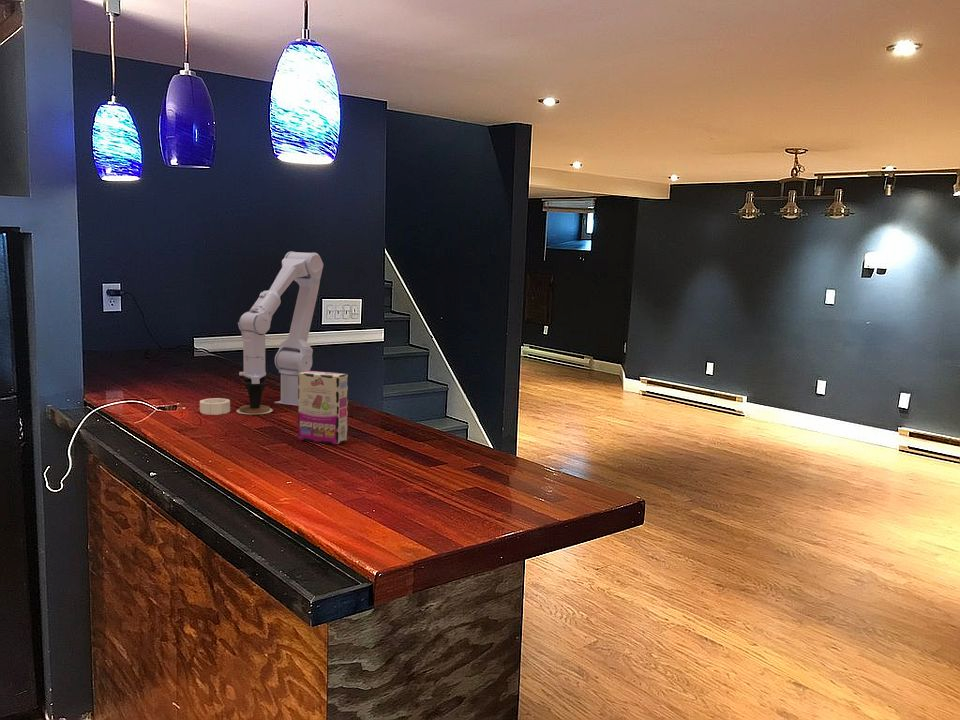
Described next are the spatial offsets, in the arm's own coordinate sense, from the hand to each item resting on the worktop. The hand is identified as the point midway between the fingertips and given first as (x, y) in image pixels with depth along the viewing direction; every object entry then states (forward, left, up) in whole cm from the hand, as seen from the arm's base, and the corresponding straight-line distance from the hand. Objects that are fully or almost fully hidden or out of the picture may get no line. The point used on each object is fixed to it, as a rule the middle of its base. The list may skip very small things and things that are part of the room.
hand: (254, 405), depth 213 cm
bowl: (+8, +6, -2) cm, 10 cm away
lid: (0, 0, -1) cm, 1 cm away
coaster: (0, 0, -2) cm, 2 cm away
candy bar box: (-32, +16, -2) cm, 36 cm away
